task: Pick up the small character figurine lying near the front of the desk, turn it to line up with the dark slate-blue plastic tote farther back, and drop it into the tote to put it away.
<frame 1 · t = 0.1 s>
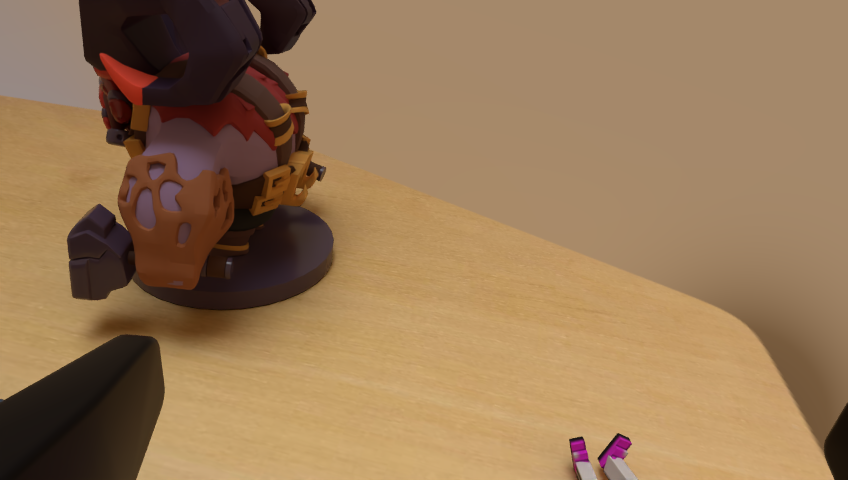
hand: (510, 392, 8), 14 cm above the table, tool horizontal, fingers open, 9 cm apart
figurine 2: (223, 249, 37), on the table
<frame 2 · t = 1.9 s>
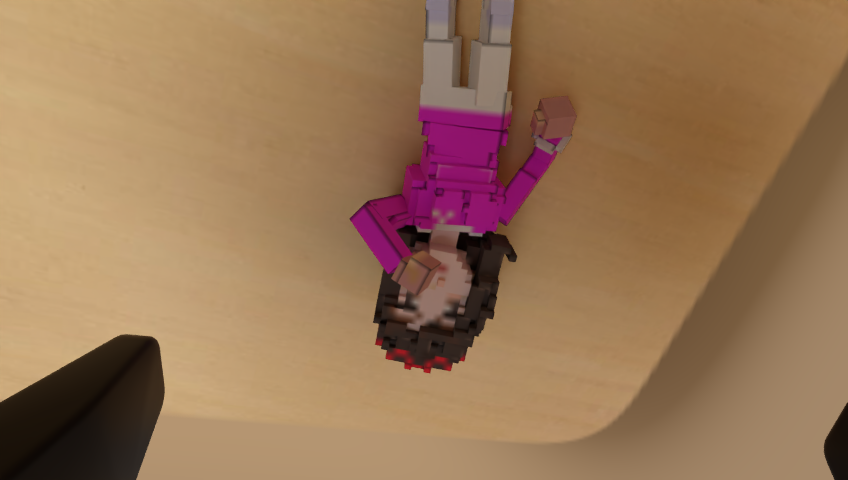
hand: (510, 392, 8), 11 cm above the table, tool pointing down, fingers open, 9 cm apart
character figurine: (461, 132, 17), on the table
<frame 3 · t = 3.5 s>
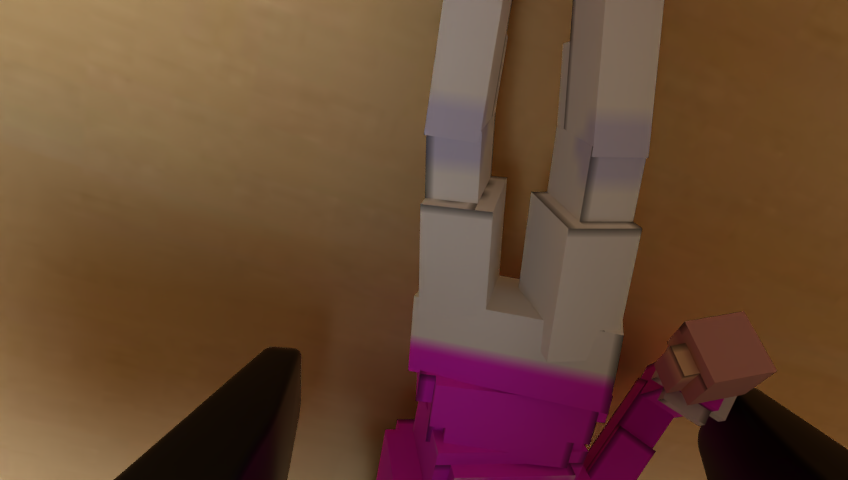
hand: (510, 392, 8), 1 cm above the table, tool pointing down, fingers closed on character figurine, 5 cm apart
character figurine: (496, 334, 9), on the table, touching gripper
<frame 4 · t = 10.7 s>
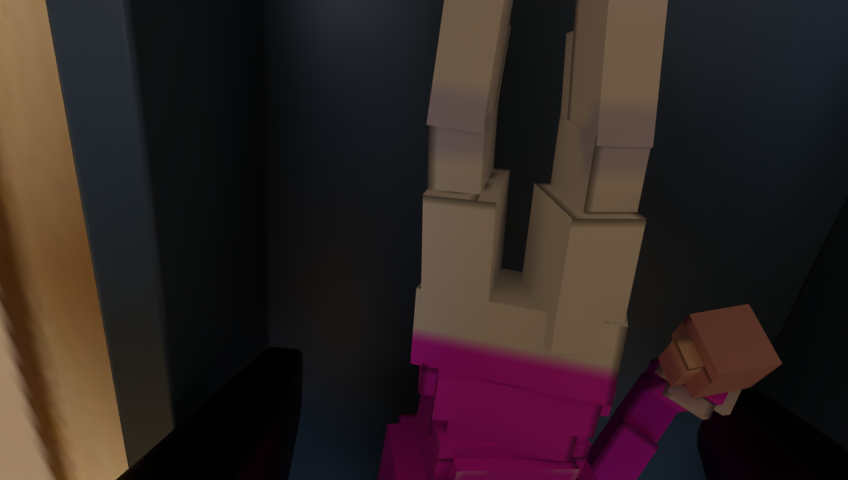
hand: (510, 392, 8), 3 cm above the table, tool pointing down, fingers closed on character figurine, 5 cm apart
character figurine: (498, 328, 9), point 2 cm above the table, touching gripper
bin: (547, 198, 10), on the table
when the fingers open (7 cm above the table, at t = 22.7 s): character figurine drops 5 cm, resting on bin.
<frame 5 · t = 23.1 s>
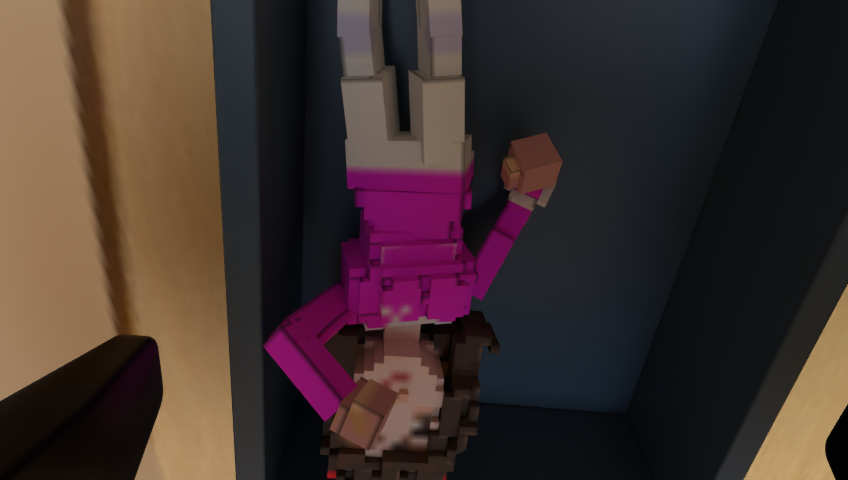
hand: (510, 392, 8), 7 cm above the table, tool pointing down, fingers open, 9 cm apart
character figurine: (410, 183, 13), point 1 cm above the table, touching bin
bin: (512, 131, 13), on the table
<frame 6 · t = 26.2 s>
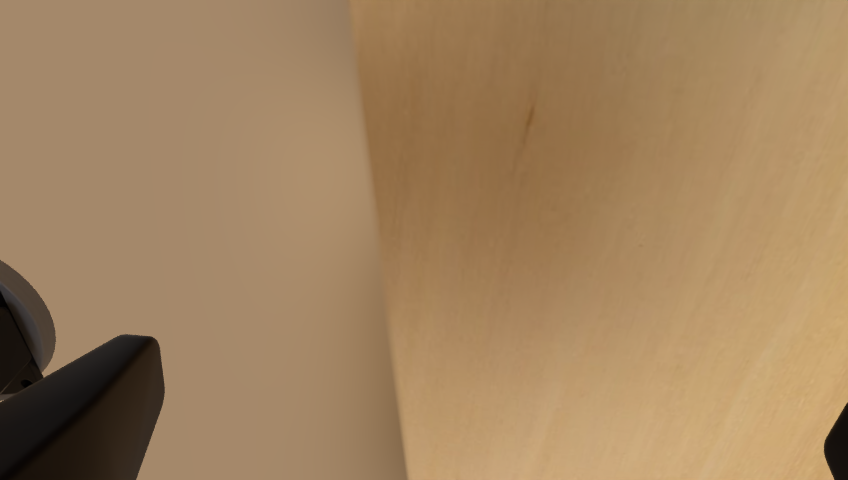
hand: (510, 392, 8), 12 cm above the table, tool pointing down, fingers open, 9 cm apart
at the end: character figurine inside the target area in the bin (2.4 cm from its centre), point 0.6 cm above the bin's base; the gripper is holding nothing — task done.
